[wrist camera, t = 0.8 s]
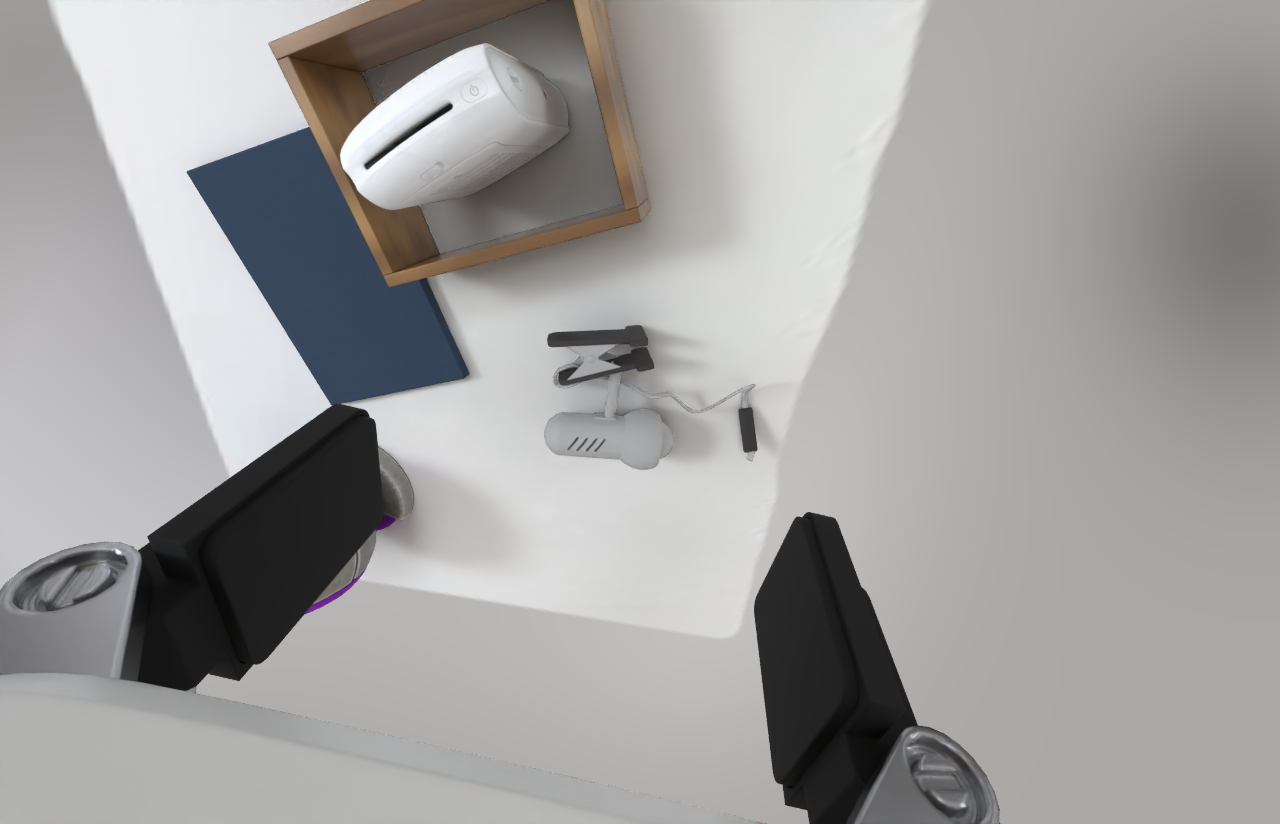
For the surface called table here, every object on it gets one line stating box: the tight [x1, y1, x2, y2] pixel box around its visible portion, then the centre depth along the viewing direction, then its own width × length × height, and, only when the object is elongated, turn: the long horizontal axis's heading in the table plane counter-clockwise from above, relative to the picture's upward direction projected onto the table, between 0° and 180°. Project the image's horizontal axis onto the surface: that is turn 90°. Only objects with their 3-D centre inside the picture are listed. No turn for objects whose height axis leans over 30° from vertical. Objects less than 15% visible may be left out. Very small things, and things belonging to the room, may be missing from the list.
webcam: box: [305, 447, 413, 614], centre depth 43 cm, size 13×13×15 cm
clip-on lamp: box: [544, 325, 757, 470], centre depth 38 cm, size 12×6×18 cm
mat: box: [187, 127, 469, 405], centre depth 38 cm, size 20×14×1 cm
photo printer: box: [340, 43, 570, 210], centre depth 27 cm, size 10×4×12 cm, turn 117°
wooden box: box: [268, 0, 651, 287], centre depth 30 cm, size 14×18×6 cm
